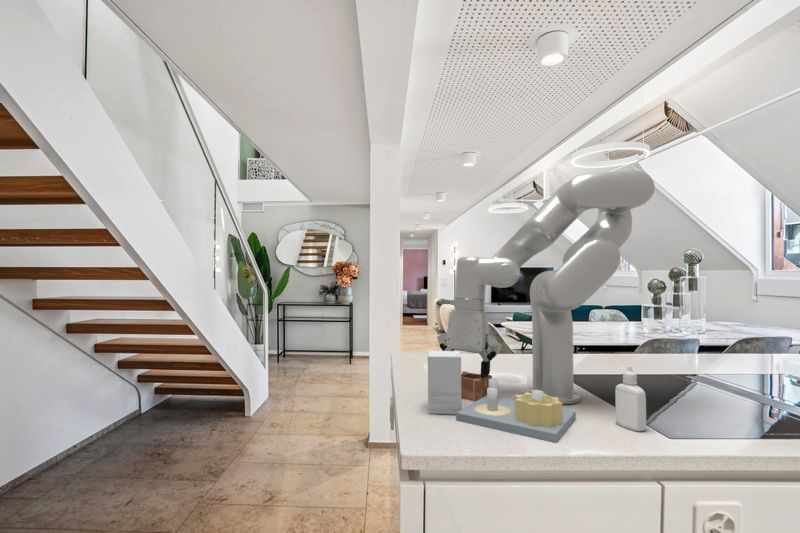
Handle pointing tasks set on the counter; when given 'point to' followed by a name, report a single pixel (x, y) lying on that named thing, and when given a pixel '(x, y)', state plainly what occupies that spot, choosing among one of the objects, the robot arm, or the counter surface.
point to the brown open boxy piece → (473, 386)
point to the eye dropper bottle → (630, 403)
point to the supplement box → (444, 382)
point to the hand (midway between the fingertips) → (466, 373)
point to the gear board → (514, 424)
